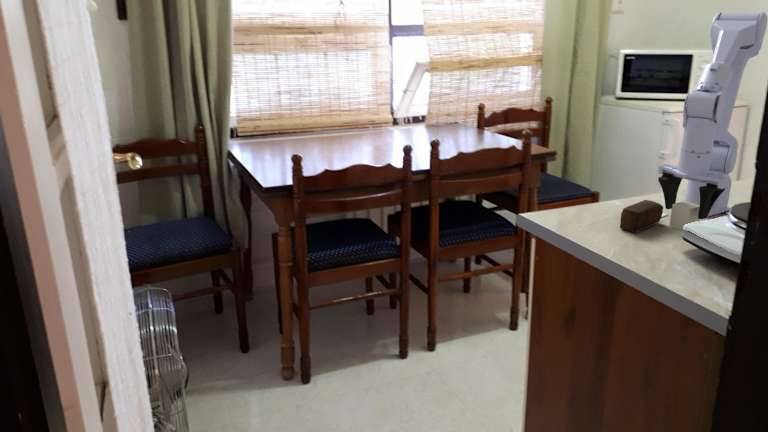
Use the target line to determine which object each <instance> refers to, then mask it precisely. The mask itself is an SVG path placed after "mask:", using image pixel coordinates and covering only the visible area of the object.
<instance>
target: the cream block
mask: <svg viewBox="0 0 768 432" xmlns="http://www.w3.org/2000/svg"><path fill="white" fill-rule="evenodd" d="M699 206H700V205H697V204H693V203H690V202H686V201H685V200H684V201H679V202H676V203H675V204H673V205H672V209H671V213H670V219H669V225H668V226H669V227H672V228H675V229H678V230H679V231H680V230H681V231H684V230H683V226H684V225H685V224H688V223H691V222H695V221H699V222H700V219H698V212H699Z"/></svg>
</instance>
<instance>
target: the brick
mask: <svg viewBox="0 0 768 432" xmlns="http://www.w3.org/2000/svg"><path fill="white" fill-rule="evenodd" d="M663 210H664V206H663V205H662V204H660V203H658V202H656V201H653V200H649V199H644V200H642V201H639V202H636V203H635V204H631V205H628V206H626V207H623V208H622V211H621V213H620V224H619V228H620V229H622V230H624V231H627V232H631V233H638V232H639V231H642V230H645V229H647V228H649V227H652V226H653V225H655V224H657V223H659V222H661V216H662V213H664V211H663Z"/></svg>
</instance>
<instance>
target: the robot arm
mask: <svg viewBox="0 0 768 432" xmlns="http://www.w3.org/2000/svg"><path fill="white" fill-rule="evenodd" d="M767 24H768V15H767V14H766V12H764V11H763V12H762V11H761V12H738V13H737V12H730V13H729V12H724V13H723V12H717V13H716V14H715V15H714V16H713V19H712V21H711V24H710V25H711V27H710V34H709V35H710V41H711V42H710V43H711V49H712V54H713V55H712V59H711V62H710V63H708V64H706V65H704V67H702V70H701V72H700V74H699V77H698V79H697V81H696V84H695V85H694V89H693V91H691V93H690V92H688V93H687V94H686V97H685V99H684V102H683V112H682V117H683V121H682V128H683V129H684V130H683V135H682V141H681V146H680V153H679V158H678V165H673V164H668V163H662V164H661V163H660V164H659V165H658V170H657V173H658V174H659V175H661V176H658V178H657V182H658V183H659V184H660V188H661V190H662V194H663V199H664V205H665V208H664V209H665V210H672V205H673V204H675V203H677V195H678V191H679V188H680V186H681V182H683V179H684V180H687V183H686V191H685V196H684V201H686V202H690V203H693V204H697V205H700V206H699V212H698V219H699V220H704V219H708V217H710V216H711V217H712V216H715V215H719V214H722V213H724V212H723V211H726V212H729V211H730V210H729V209H731V210H732V208H731V207H728V204H729V199H730V194H731V190H732V179H731V177H730V174H731V173H732V172H733V171H734V169H735V167H736V166H735V165H736V162H737V158H738V149H739V142H738V139H737V138H736V137H735V136H734V135H732V133H730V131H729V127H730V125H731V124H730V123H731V122H732V121H731V120H732V118H733V117H732V116H733V111H734V109H735V104H736V101H737V97H738V93H739V89H740V86H741V82H742V78H743V74H744V70H745V68H746V66H747V63H748V62H749V60H750V59H753V57H757V56H758V55H759V53H760V51H761V49H762V45H763V42H764V37H765V34H766V31H767V26H768V25H767ZM728 210H729V211H728ZM721 212H722V213H721Z"/></svg>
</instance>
